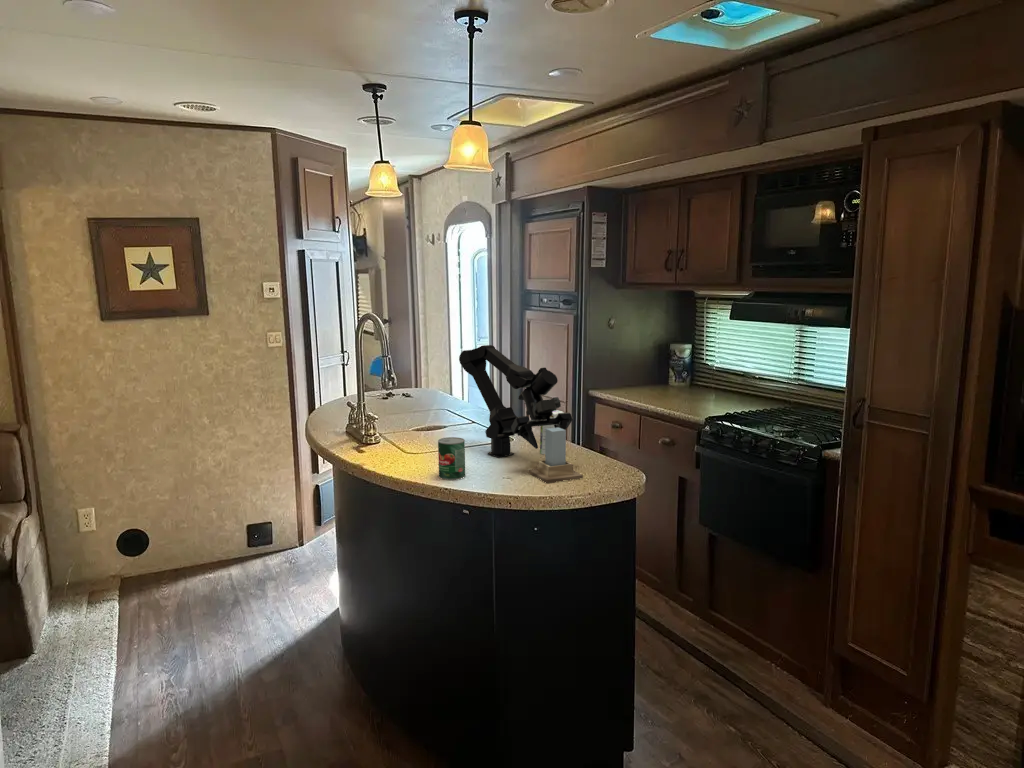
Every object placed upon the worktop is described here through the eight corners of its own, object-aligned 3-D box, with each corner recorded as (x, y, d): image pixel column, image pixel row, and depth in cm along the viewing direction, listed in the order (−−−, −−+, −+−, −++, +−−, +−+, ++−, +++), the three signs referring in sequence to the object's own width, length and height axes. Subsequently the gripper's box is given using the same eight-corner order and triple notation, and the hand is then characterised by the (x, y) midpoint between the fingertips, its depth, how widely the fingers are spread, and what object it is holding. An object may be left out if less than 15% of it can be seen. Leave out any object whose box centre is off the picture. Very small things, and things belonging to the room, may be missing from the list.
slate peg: (545, 471, 204) (545, 428, 202) (558, 469, 206) (558, 427, 204) (552, 475, 200) (552, 431, 198) (565, 473, 202) (565, 430, 200)
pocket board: (528, 472, 206) (528, 460, 206) (563, 468, 211) (563, 455, 211) (546, 483, 195) (546, 469, 195) (582, 478, 200) (583, 465, 200)
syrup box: (549, 450, 233) (550, 408, 231) (564, 453, 230) (564, 411, 227) (539, 454, 229) (539, 411, 227) (554, 456, 225) (554, 413, 223)
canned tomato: (468, 473, 206) (468, 438, 204) (460, 481, 198) (459, 444, 196) (444, 471, 208) (443, 436, 206) (434, 479, 200) (433, 442, 198)
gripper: (515, 390, 203) (531, 434, 195) (570, 386, 210) (588, 429, 202) (504, 411, 211) (519, 455, 203) (558, 407, 219) (574, 449, 210)
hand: (550, 446), depth 204 cm, fingers open, 9 cm apart
